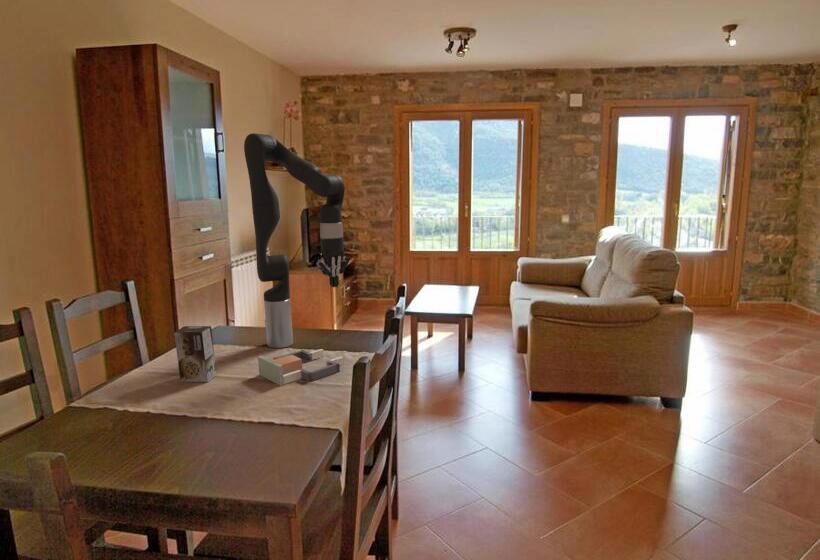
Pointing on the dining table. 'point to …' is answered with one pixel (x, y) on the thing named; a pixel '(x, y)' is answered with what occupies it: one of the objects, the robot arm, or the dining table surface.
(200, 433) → the dining table surface
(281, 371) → the box
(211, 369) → the coffee box
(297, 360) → the terracotta block
